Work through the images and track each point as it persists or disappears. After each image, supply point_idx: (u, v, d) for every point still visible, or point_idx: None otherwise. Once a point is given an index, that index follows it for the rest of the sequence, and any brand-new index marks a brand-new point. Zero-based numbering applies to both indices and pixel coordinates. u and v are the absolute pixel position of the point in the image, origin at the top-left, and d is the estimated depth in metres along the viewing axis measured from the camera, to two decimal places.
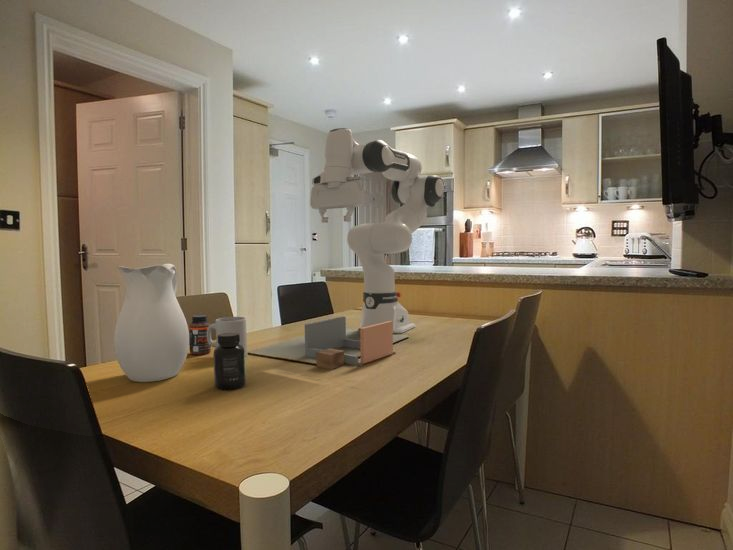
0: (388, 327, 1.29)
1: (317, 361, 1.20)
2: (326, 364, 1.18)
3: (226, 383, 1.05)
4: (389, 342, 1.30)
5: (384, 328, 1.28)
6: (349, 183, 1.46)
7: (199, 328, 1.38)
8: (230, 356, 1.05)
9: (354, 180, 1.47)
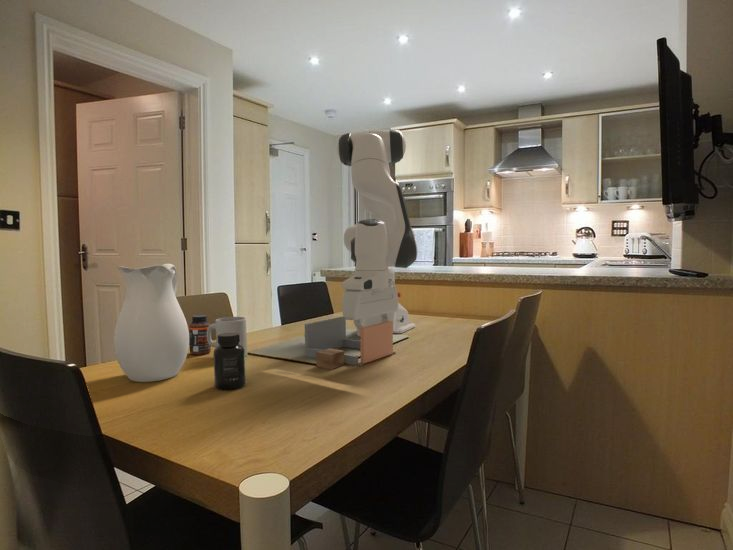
0: (388, 327, 1.29)
1: (317, 361, 1.20)
2: (326, 364, 1.18)
3: (226, 383, 1.05)
4: (389, 342, 1.30)
5: (384, 328, 1.28)
6: (391, 288, 1.30)
7: (199, 328, 1.38)
8: (230, 356, 1.05)
9: (389, 283, 1.31)
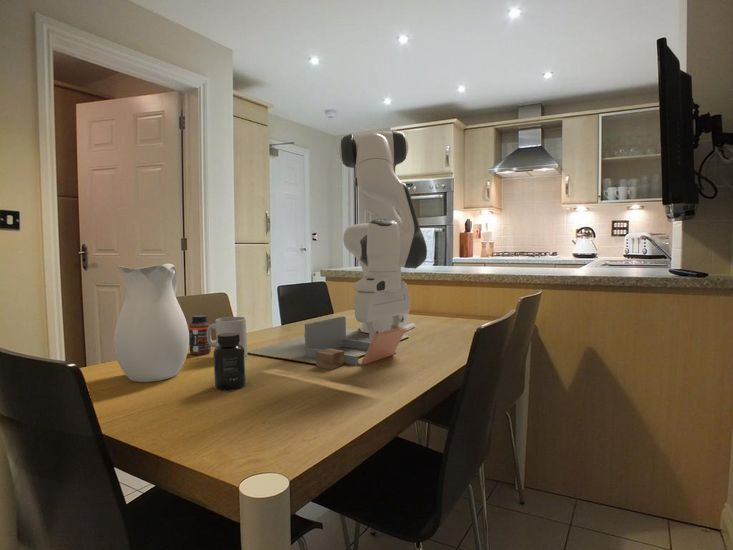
0: (400, 333, 1.27)
1: (317, 361, 1.20)
2: (326, 364, 1.18)
3: (226, 383, 1.05)
4: (394, 346, 1.29)
5: (396, 334, 1.25)
6: (403, 289, 1.27)
7: (199, 328, 1.38)
8: (230, 356, 1.05)
9: (400, 284, 1.29)
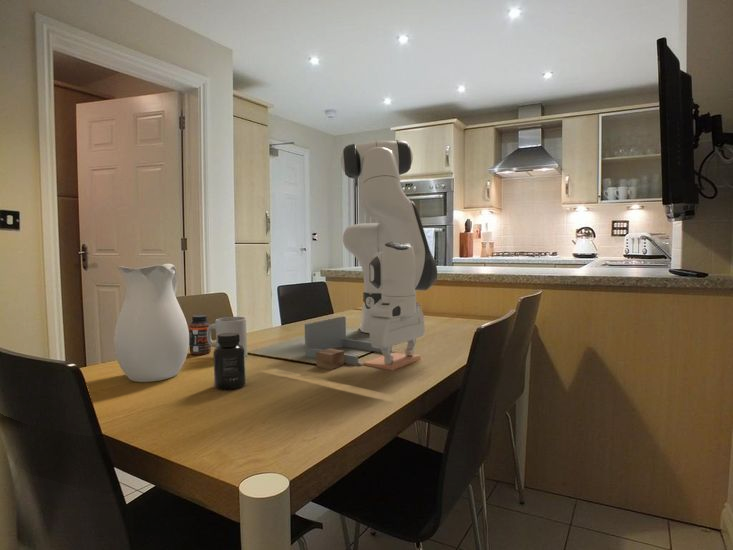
0: None
1: (317, 361, 1.20)
2: (326, 364, 1.18)
3: (226, 383, 1.05)
4: None
5: None
6: (418, 312, 1.25)
7: (199, 328, 1.38)
8: (230, 356, 1.05)
9: None
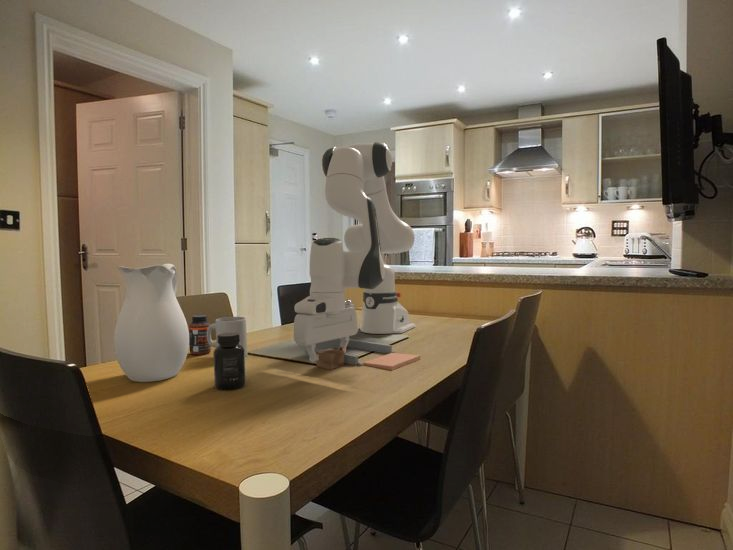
0: None
1: (317, 361, 1.20)
2: (326, 364, 1.18)
3: (226, 383, 1.05)
4: None
5: None
6: (349, 310, 1.23)
7: (199, 328, 1.38)
8: (230, 356, 1.05)
9: (347, 305, 1.24)
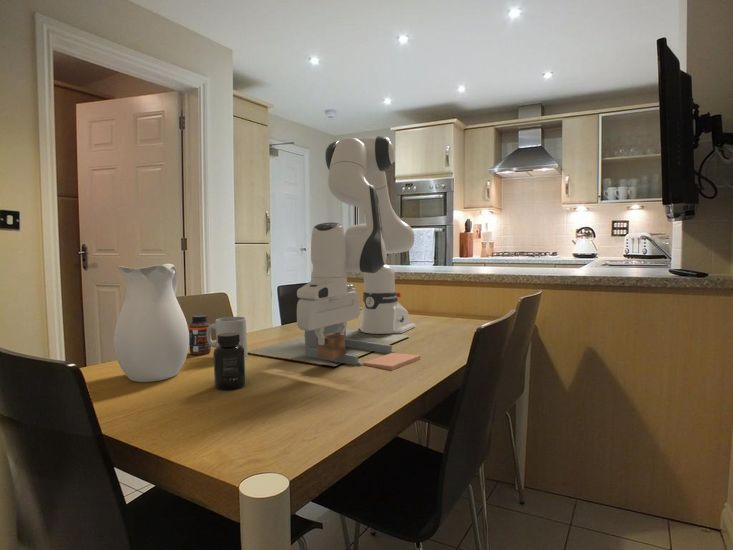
0: None
1: (318, 346, 1.20)
2: (327, 349, 1.18)
3: (226, 383, 1.05)
4: None
5: None
6: (351, 294, 1.24)
7: (199, 328, 1.38)
8: (230, 356, 1.05)
9: (349, 289, 1.25)
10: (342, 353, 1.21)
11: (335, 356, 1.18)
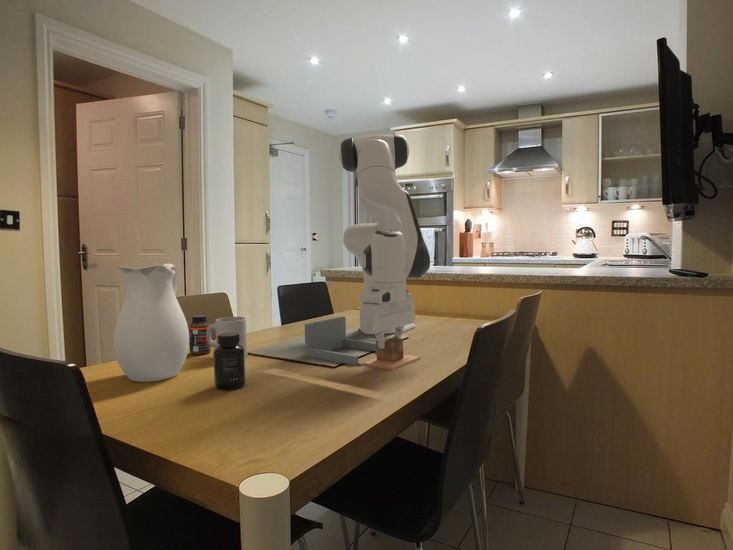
0: None
1: (377, 350, 1.23)
2: (386, 353, 1.21)
3: (226, 383, 1.05)
4: None
5: None
6: (408, 299, 1.27)
7: (199, 328, 1.38)
8: (230, 356, 1.05)
9: (405, 294, 1.28)
10: (400, 356, 1.23)
11: (394, 359, 1.21)
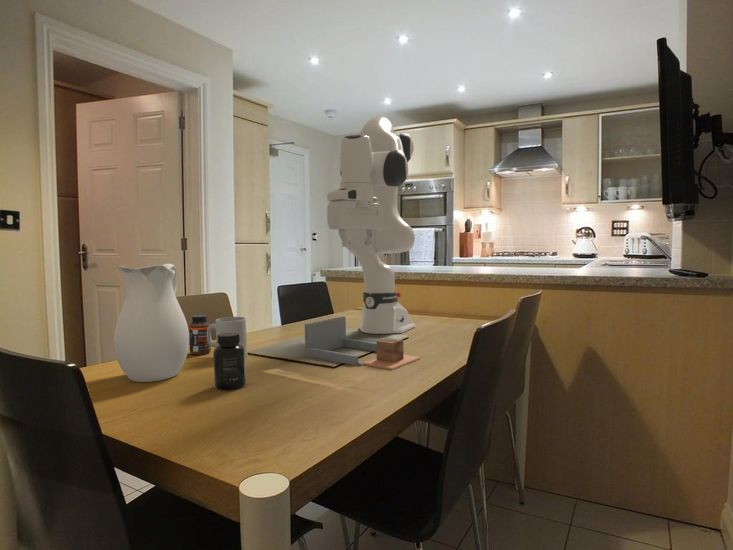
0: None
1: (377, 350, 1.23)
2: (387, 353, 1.21)
3: (226, 383, 1.05)
4: None
5: None
6: (376, 204, 1.32)
7: (199, 328, 1.38)
8: (230, 356, 1.05)
9: (374, 201, 1.34)
10: (400, 357, 1.23)
11: (394, 360, 1.21)
